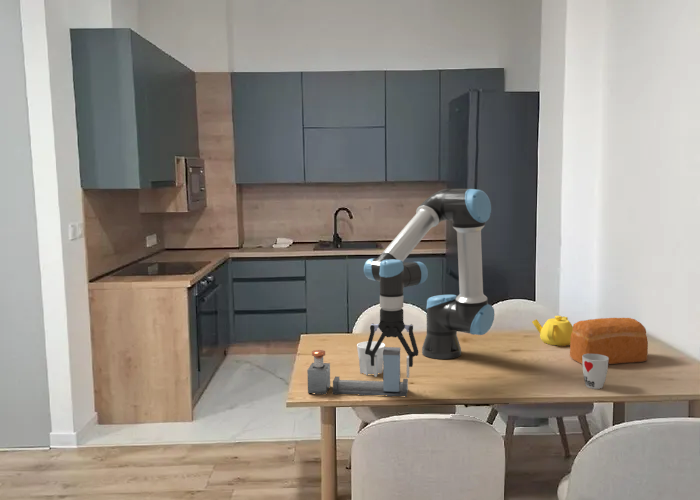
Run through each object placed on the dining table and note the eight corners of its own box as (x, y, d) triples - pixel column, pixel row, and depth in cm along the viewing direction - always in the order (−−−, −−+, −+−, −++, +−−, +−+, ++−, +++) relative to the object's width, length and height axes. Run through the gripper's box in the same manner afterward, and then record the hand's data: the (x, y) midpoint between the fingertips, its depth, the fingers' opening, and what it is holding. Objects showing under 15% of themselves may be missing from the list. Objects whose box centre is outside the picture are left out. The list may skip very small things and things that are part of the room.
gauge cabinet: (330, 386, 217) (329, 363, 216) (326, 394, 209) (325, 370, 208) (312, 385, 217) (312, 362, 216) (307, 393, 210) (307, 370, 209)
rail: (407, 389, 213) (407, 377, 212) (406, 397, 206) (406, 384, 205) (335, 387, 216) (335, 375, 215) (332, 394, 209) (332, 382, 209)
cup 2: (577, 382, 217) (578, 354, 216) (600, 381, 218) (601, 353, 217) (588, 391, 209) (589, 361, 208) (612, 390, 210) (613, 360, 209)
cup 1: (357, 367, 237) (357, 341, 236) (384, 367, 236) (384, 341, 235) (356, 376, 227) (356, 348, 226) (385, 376, 227) (385, 348, 225)
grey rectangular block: (400, 385, 212) (400, 347, 211) (399, 392, 206) (399, 352, 205) (384, 385, 213) (384, 347, 211) (383, 391, 207) (382, 352, 205)
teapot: (539, 333, 282) (540, 308, 281) (582, 339, 272) (583, 313, 270) (522, 343, 266) (523, 317, 265) (567, 350, 256) (568, 323, 254)
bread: (651, 362, 239) (653, 321, 237) (585, 367, 234) (587, 324, 232) (628, 352, 252) (630, 312, 250) (566, 356, 247) (567, 316, 245)
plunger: (326, 376, 214) (326, 350, 213) (324, 380, 210) (323, 353, 209) (313, 376, 215) (313, 349, 214) (311, 380, 211) (310, 353, 210)
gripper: (427, 306, 208) (426, 373, 211) (358, 305, 212) (359, 371, 214) (426, 311, 201) (426, 380, 204) (355, 310, 204) (356, 378, 207)
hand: (391, 375), depth 209 cm, fingers open, 10 cm apart
